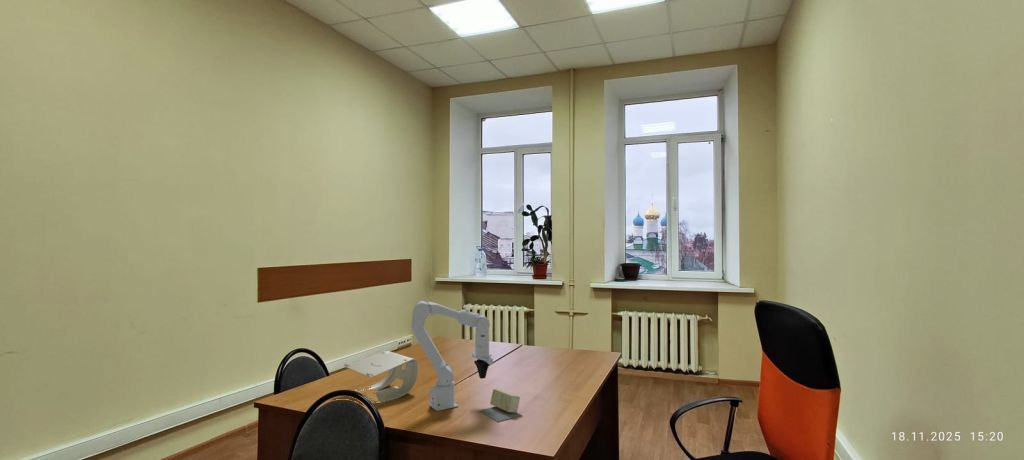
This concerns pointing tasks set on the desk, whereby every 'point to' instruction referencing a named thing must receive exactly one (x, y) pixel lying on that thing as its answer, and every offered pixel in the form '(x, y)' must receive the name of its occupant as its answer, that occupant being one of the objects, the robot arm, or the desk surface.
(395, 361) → the portable electronic device stand
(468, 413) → the desk surface
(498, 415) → the mat
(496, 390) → the skincare box
